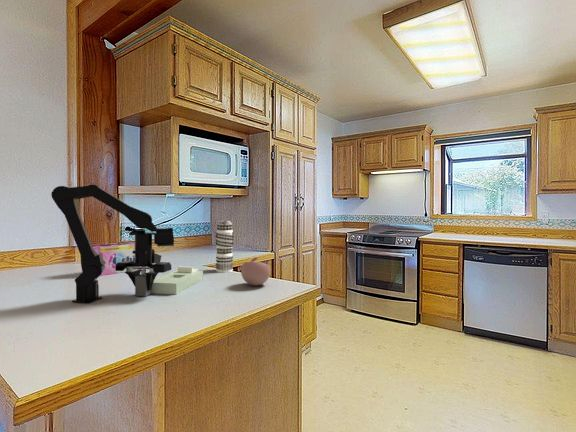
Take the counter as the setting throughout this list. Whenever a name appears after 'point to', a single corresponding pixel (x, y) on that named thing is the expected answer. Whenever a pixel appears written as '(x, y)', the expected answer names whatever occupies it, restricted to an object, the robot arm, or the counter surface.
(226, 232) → the decorative candle
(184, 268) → the shutter
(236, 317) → the counter surface
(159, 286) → the socket
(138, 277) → the plug
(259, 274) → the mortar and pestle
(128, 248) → the gum box
